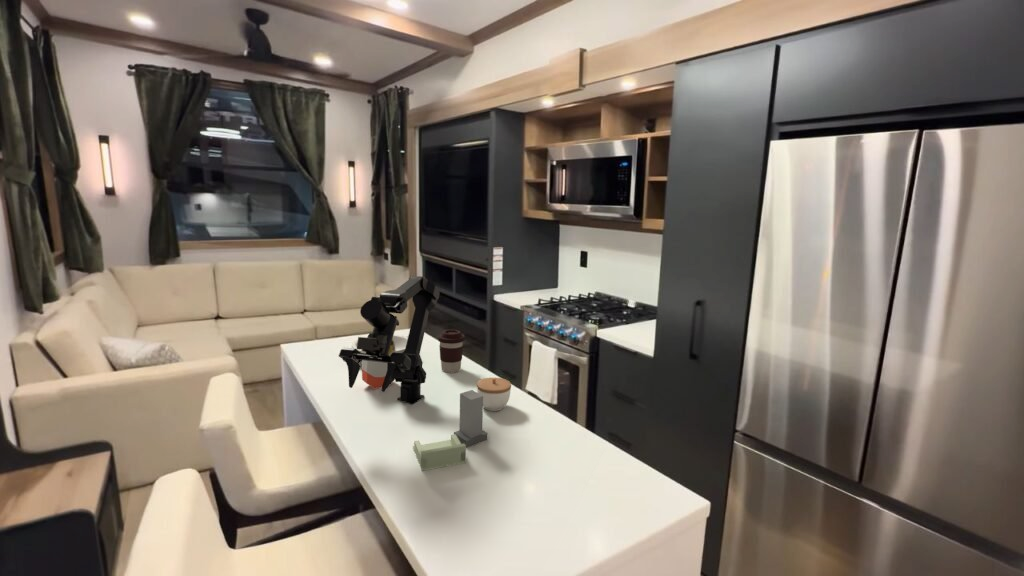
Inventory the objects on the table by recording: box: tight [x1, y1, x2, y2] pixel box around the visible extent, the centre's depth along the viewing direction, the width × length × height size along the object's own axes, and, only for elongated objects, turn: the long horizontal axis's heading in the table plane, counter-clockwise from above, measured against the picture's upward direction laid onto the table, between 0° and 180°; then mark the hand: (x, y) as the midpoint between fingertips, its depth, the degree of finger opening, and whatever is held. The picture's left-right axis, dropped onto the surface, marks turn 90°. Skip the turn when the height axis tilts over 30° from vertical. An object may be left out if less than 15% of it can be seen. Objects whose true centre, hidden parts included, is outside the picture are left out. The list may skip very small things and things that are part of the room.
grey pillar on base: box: [453, 389, 489, 449], centre depth 127 cm, size 6×7×13 cm
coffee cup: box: [437, 329, 466, 373], centre depth 178 cm, size 10×10×15 cm
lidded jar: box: [476, 377, 512, 412], centre depth 148 cm, size 11×11×9 cm
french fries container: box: [361, 339, 396, 390], centre depth 161 cm, size 5×11×18 cm, turn 129°
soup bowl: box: [351, 334, 408, 353], centre depth 189 cm, size 24×24×7 cm
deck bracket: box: [412, 433, 467, 472], centre depth 119 cm, size 11×11×4 cm
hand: (366, 389), depth 123 cm, fingers open, 9 cm apart
